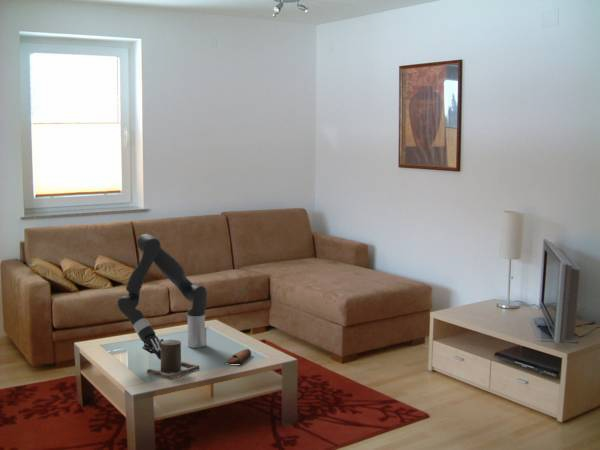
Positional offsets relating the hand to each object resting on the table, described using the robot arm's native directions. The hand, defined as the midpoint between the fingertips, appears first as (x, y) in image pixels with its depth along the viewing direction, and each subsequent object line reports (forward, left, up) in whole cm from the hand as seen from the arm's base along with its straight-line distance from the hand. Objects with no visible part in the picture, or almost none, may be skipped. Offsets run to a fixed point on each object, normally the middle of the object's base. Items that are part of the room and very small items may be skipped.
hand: (162, 358), depth 346 cm
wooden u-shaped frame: (-3, +7, -5) cm, 9 cm away
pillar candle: (-2, +5, -5) cm, 7 cm away
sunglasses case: (-37, +10, -5) cm, 39 cm away
